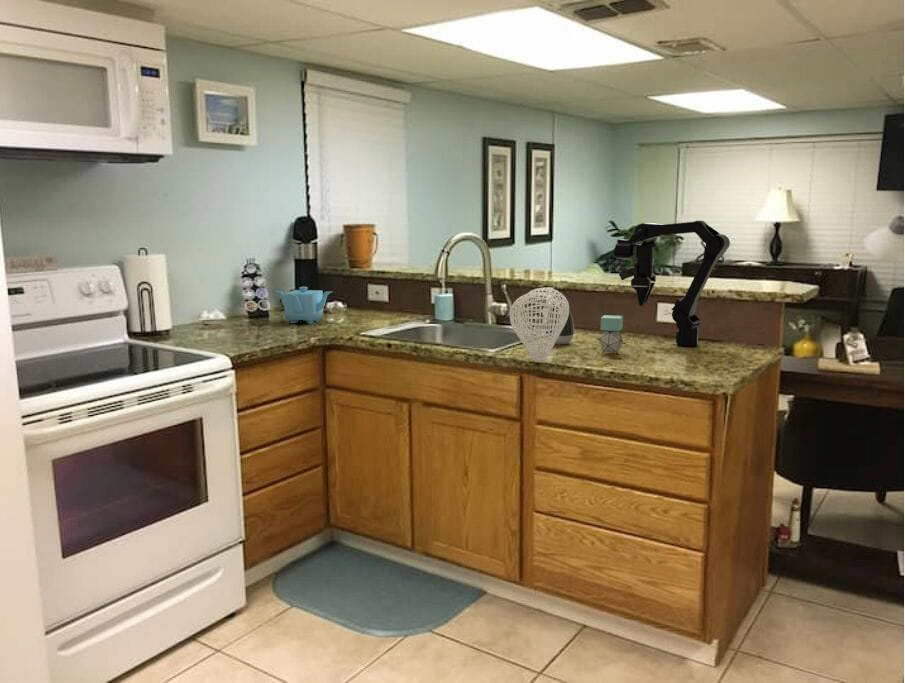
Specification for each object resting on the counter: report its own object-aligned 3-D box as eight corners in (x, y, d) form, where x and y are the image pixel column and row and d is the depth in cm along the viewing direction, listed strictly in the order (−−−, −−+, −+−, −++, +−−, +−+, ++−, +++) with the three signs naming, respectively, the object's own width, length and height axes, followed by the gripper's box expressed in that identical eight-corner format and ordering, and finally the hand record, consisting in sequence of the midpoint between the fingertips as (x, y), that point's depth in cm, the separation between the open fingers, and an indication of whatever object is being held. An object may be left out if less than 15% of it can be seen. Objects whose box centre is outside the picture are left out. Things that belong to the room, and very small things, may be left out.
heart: (556, 373, 223) (558, 296, 219) (504, 370, 228) (504, 294, 224) (571, 355, 250) (572, 286, 246) (524, 352, 254) (524, 284, 250)
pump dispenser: (577, 342, 273) (578, 299, 270) (569, 347, 264) (570, 302, 261) (549, 340, 277) (550, 297, 275) (540, 344, 268) (541, 301, 265)
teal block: (622, 328, 253) (622, 316, 252) (619, 331, 247) (619, 318, 246) (603, 327, 255) (604, 315, 254) (600, 330, 249) (600, 317, 249)
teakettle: (314, 317, 336) (312, 283, 333) (335, 322, 321) (334, 287, 319) (273, 322, 325) (271, 286, 322) (293, 327, 310) (292, 290, 307)
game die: (604, 363, 254) (591, 337, 258) (628, 354, 254) (615, 327, 258) (606, 355, 246) (593, 327, 249) (631, 345, 246) (617, 318, 249)
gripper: (625, 257, 281) (624, 300, 284) (616, 260, 264) (615, 306, 267) (656, 257, 277) (655, 301, 280) (650, 261, 260) (648, 307, 263)
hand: (642, 304), depth 273 cm, fingers open, 9 cm apart
